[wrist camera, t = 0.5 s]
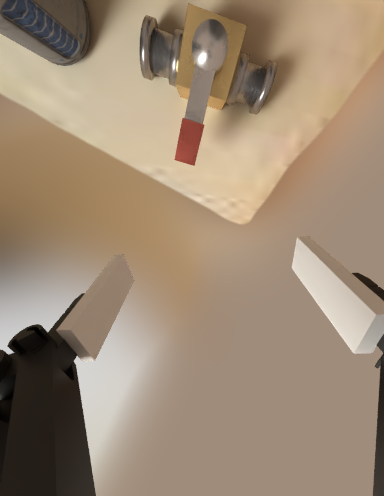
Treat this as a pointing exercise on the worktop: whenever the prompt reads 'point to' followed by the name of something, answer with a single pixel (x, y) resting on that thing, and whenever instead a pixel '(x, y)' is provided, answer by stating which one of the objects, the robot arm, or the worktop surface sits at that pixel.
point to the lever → (201, 85)
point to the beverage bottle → (48, 27)
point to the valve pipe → (182, 66)
